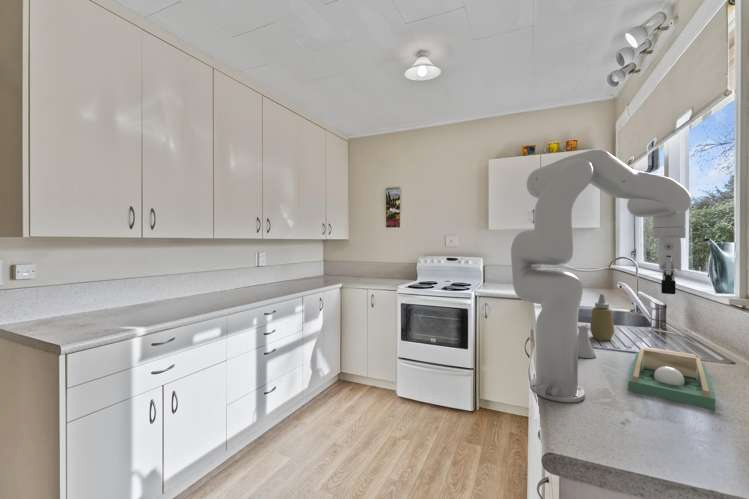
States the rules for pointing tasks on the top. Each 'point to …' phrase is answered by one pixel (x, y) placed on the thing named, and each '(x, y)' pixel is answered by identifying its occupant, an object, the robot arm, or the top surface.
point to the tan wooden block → (670, 361)
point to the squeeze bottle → (602, 320)
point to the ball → (669, 376)
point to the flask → (584, 343)
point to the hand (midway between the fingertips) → (668, 293)
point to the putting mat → (691, 393)
